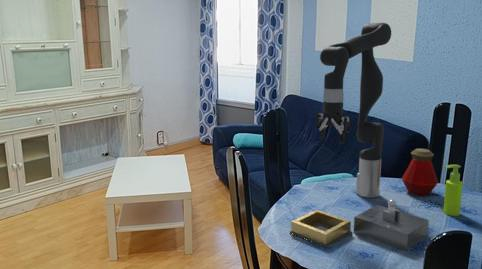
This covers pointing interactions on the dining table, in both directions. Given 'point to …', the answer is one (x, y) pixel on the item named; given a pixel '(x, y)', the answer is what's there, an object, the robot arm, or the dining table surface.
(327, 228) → the black mat
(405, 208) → the dining table surface
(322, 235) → the wooden tray
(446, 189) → the soap dispenser
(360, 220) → the translucent grey knobbed box
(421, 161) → the bottle
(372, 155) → the robot arm
